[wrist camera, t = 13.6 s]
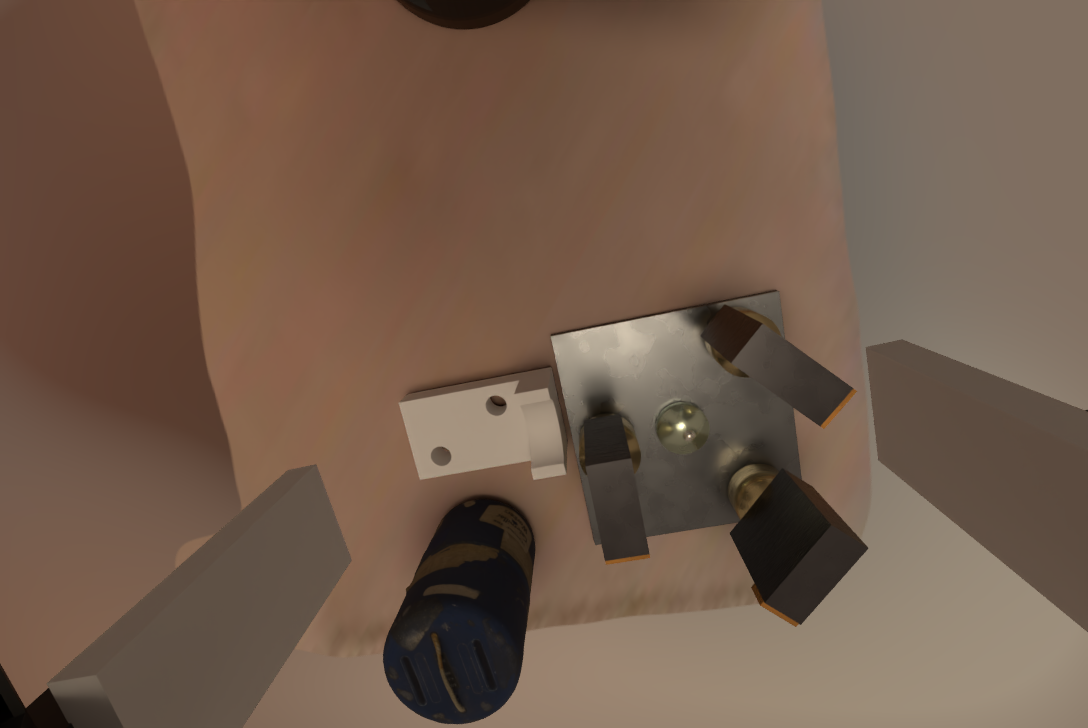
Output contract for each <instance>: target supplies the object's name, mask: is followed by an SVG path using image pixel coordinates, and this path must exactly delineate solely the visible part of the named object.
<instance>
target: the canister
mask: <svg viewBox="0 0 1088 728" xmlns="http://www.w3.org/2000/svg"><path fill="white" fill-rule="evenodd" d="M534 558H535V541H534V536H533V533H532V530H531V528H530V526H529V524H528V523H527V521H526V520H525V519H524V517H523V516H522V515H521V514H520V513H519V512H518V511H516V510H515V509H514V508H512V507H510V506H508V505H507V504H504V503H502V502H498V501H494V500H487V499H479V500H471V501H468V502H465V503H463V504H460V505H458V506H457V507H455V508H453V509H452V510H451V511H450V512H449V513H448V514H447V515H446V516H445V517H444V518H443V519H442V520H441V522H440V524H439V526H438V528H437V530H436V533H435V535H434V537H433V538H432V540H431V542H430V544H429V546H428V548H427V550H426V551H425V553H424V555H423V557H422V559H421V562H420V564H419V566H418V568H417V570H416V573H415V576H414V579H413V581H412V583H411V584H410V586H409V587H407V588H406V597H405V599H404V601H403V603H402V605H401V607H400V610H399V612H398V614H397V616H396V618H395V620H394V622H393V624H392V626H391V628H390V630H389V633H388V635H387V638H386V642H385V646H384V652H383V663H384V669H385V674H386V677H387V680H388V683H389V685H390V687H391V688H392V690H393V691H394V693H395V694H396V696H397V697H398V698H399V699H400V701H401V702H402V703H403V704H405V705H406V706H407V707H408V708H409V709H411V710H412V711H414V712H415V713H417V714H418V715H420V716H422V717H425V718H427V719H430V720H433V721H436V722H439V723H445V724H464V723H471V722H475V721H478V720H481V719H484V718H486V717H488V716H490V715H491V714H493V713H494V712H496V711H497V710H499V709H500V708H501V707H502V706H503V705H504V704H505V703H506V702H507V701H508V699H509V698H510V696H511V695H512V693H513V692H514V690H515V688H516V686H517V683H518V680H519V677H520V673H521V667H522V660H523V651H524V642H525V641H524V640H525V634H526V627H527V620H528V612H529V605H530V592H531V583H532V575H533V566H534Z"/></svg>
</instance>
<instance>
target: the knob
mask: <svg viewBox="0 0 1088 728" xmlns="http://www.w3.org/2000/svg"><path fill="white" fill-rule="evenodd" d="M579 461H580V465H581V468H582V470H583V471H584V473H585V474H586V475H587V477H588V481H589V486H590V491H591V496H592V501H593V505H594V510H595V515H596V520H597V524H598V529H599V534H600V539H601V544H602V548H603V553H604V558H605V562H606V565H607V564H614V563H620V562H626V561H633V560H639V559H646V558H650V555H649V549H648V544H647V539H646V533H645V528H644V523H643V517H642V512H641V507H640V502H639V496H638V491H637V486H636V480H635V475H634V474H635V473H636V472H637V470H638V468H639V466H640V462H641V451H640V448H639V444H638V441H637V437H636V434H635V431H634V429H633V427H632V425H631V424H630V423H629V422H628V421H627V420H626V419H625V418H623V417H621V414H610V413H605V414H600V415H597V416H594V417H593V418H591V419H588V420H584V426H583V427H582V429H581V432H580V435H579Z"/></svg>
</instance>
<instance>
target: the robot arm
mask: <svg viewBox="0 0 1088 728" xmlns="http://www.w3.org/2000/svg"><path fill="white" fill-rule="evenodd" d="M397 1H398V2H399V3H401V4H402V5H403V6H404V7H405V8H406V9H408V10H409V11H410V12H412V13H413V14H415V15H417V16H418V17H420V18H422V19H424V20H426V21H428V22H431V23H433V24H436V25H439V26H443V27H448V28H455V29H473V28H480V27H484V26H488V25H491V24H494V23H497V22H499V21H501V20H503V19H505V18H507V17H509V16H511V15H512V14H514V13H515V12H517V11H518V10H519V9H521V8H522V7H523V6H524V5H525V4H526V3H528V2H529V1H530V0H397ZM866 353H867V362H868V371H869V380H870V389H871V398H872V407H873V416H874V425H875V434H876V443H877V452H878V460H879V461H880V462H881V463H882V464H884V465H885V466H886V467H887V468H889V469H890V470H891V471H892V472H894V473H895V474H896V475H897V476H898V477H900V478H901V479H902V480H904V482H906V483H907V484H908V485H909V486H911V487H912V488H913V489H914V490H915V491H917V492H918V493H919V494H920V495H921V496H923V497H924V498H925V499H927V500H928V501H929V502H930V503H931V504H932V505H934V506H935V507H936V508H937V509H939V510H940V511H941V512H942V513H943V514H945V515H946V516H947V517H948V518H949V519H951V520H952V521H953V522H954V523H956V524H957V525H958V526H959V527H960V528H962V529H963V530H964V531H965V532H966V533H968V534H969V535H970V536H971V537H973V538H974V539H975V540H976V541H977V542H979V543H980V544H981V545H982V546H984V547H985V548H986V549H987V550H988V551H990V552H991V553H992V554H993V555H995V556H996V557H997V558H998V559H999V560H1001V561H1002V562H1003V563H1004V564H1006V565H1007V566H1008V567H1009V568H1010V569H1012V570H1013V571H1014V572H1015V573H1016V574H1018V575H1019V576H1020V577H1021V578H1022V579H1024V580H1025V581H1026V582H1027V583H1029V584H1030V585H1031V586H1032V587H1034V588H1035V589H1036V590H1037V591H1038V592H1040V593H1041V594H1042V595H1043V596H1045V597H1046V598H1047V599H1048V600H1049V601H1050V602H1052V603H1053V604H1054V605H1056V606H1057V607H1058V608H1059V609H1060V610H1061V611H1063V612H1064V613H1065V614H1066V615H1067V616H1069V617H1070V618H1071V619H1072V620H1074V621H1075V622H1076V623H1077V624H1079V625H1080V626H1081V627H1082V628H1083V629H1085V630H1086V631H1087V632H1088V410H1082V409H1079V408H1077V407H1074V406H1071V405H1069V404H1067V403H1064V402H1061V401H1059V400H1056V399H1054V398H1051V397H1048V396H1045V395H1043V394H1041V393H1038V392H1036V391H1033V390H1030V389H1027V388H1025V387H1023V386H1020V385H1018V384H1015V383H1013V382H1010V381H1007V380H1005V379H1002V378H999V377H997V376H994V375H992V374H989V373H987V372H984V371H982V370H979V369H977V368H974V367H971V366H969V365H966V364H964V363H961V362H958V361H956V360H953V359H951V358H948V357H946V356H943V355H940V354H938V353H935V352H933V351H930V350H928V349H925V348H922V347H920V346H917V345H915V344H912V343H910V342H907V341H904V340H897V341H893V342H888V343H883V344H879V345H874V346H870V347H866ZM351 561H352V560H351V557H350V554H349V551H348V549H347V546H346V543H345V541H344V538H343V535H342V533H341V530H340V527H339V524H338V522H337V519H336V516H335V514H334V511H333V508H332V506H331V503H330V500H329V497H328V495H327V492H326V489H325V487H324V484H323V481H322V479H321V476H320V473H319V470H318V468H317V465H316V464H315V465H310V466H306V467H301V468H296V469H292V470H288V471H286V472H285V473H284V474H283V475H282V476H281V477H280V478H279V479H277V480H276V481H275V482H274V483H273V484H272V485H271V486H269V487H268V488H267V489H266V490H265V491H264V492H263V493H262V494H260V495H259V496H258V497H257V498H256V499H255V500H254V501H253V502H251V503H250V504H249V505H248V506H247V507H246V508H245V509H243V510H242V511H241V512H240V513H239V514H238V515H237V516H236V517H235V518H233V519H232V520H231V521H230V522H229V523H228V524H227V525H225V527H223V528H222V529H221V530H220V531H219V532H217V533H216V534H215V535H214V536H213V537H212V538H211V539H210V540H208V541H207V542H206V543H205V544H204V545H203V546H202V547H200V548H199V549H198V550H197V551H196V552H195V553H194V554H193V555H191V556H190V557H189V558H188V559H187V560H186V561H185V562H183V563H182V564H181V565H180V566H179V567H178V568H177V569H176V570H174V571H173V572H172V573H171V574H170V575H169V576H168V577H167V578H166V579H164V580H163V581H162V582H161V583H160V584H159V585H158V586H156V587H155V588H154V589H153V590H152V591H151V592H150V593H148V594H147V595H146V596H145V597H144V598H143V599H142V600H140V601H139V602H138V603H137V604H136V605H135V606H134V607H133V608H131V609H130V610H129V611H128V612H127V613H126V614H125V615H124V616H122V617H121V618H120V619H119V620H118V621H117V622H116V623H115V624H113V625H112V626H111V627H110V628H109V629H108V630H107V631H105V633H103V634H102V635H101V636H100V637H99V638H98V639H97V640H95V641H94V642H93V643H92V644H91V645H90V646H88V647H87V648H86V649H85V650H84V651H83V652H82V653H81V654H80V655H78V656H77V657H76V658H75V659H74V660H73V661H71V662H70V663H69V664H68V665H67V666H66V667H65V668H64V669H62V670H61V671H60V672H59V673H58V674H57V675H56V676H54V677H53V678H52V679H51V680H50V681H49V682H48V683H47V685H48V687H49V688H48V689H47V690H46V691H45V692H43V693H42V694H41V695H40V696H39V697H38V698H37V699H36V700H35V701H34V702H32V703H31V704H30V705H29V706H28V707H27V708H25V706H24V705H23V703H22V701H21V699H20V698H19V696H18V694H17V692H16V691H15V689H14V687H13V685H12V684H11V682H10V680H9V678H8V676H7V675H6V673H5V671H4V669H3V668H2V666H1V664H0V728H242V727H243V726H244V724H245V723H246V721H247V720H248V718H249V717H250V715H251V714H252V712H253V710H254V709H255V708H256V706H257V705H258V703H259V701H260V700H261V698H262V697H263V695H264V694H265V692H266V690H267V689H268V688H269V686H270V684H271V683H272V682H273V680H274V678H275V677H276V675H277V674H278V672H279V671H280V669H281V668H282V666H283V665H284V663H285V662H286V660H287V658H288V657H289V656H290V654H291V652H292V651H293V649H294V648H295V646H296V645H297V643H298V642H299V640H300V639H301V637H302V636H303V634H304V633H305V631H306V630H307V628H308V626H309V625H310V623H311V622H312V620H313V619H314V617H315V616H316V614H317V613H318V611H319V610H320V608H321V607H322V605H323V604H324V602H325V600H326V599H327V597H328V596H329V594H330V593H331V591H332V590H333V588H334V587H335V585H336V584H337V582H338V581H339V579H340V578H341V576H342V574H343V573H344V571H345V570H346V568H347V567H348V565H349V564H350V562H351Z"/></svg>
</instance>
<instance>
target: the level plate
mask: <svg viewBox="0 0 1088 728" xmlns="http://www.w3.org/2000/svg"><path fill="white" fill-rule="evenodd" d="M724 304H726V305H728V306H730V307H744V308H748V309H750V310H752V311H754V312H757V313H759V314H761V315H763V316H765V317H767V318H769V319H770V320H771V321H773V322H774V323H775V325H776V326H777V327H778V329H779V331H780V334H781V337H782V338H784V339H785V336H784V327H783V319H782V311H781V302H780V294H779V291H777V290H773V291H768V292H763V293H758V294H753V295H748V296H743V297H738V298H733V299H728V300H723V301H718V302H713V303H708V304H703V305H698V306H693V307H688V308H683V309H678V310H673V311H668V312H663V313H658V314H653V315H648V316H643V317H638V318H633V319H628V320H623V321H618V322H613V323H607V324H602V325H597V326H592V327H587V328H582V329H577V330H572V331H567V332H562V333H557V334H552V335H551V340H552V344H553V349H554V354H555V359H556V363H557V368H558V373H559V377H560V382H561V387H562V392H563V396H564V401H565V406H566V410H567V415H568V420H569V424H570V429H571V434H572V439H573V443H574V448H575V453H576V457H577V462H578V467H579V472H580V476H581V481H582V486H583V490H584V495H585V500H586V505H587V509H588V514H589V519H590V523H591V528H592V533H593V538H594V542H595V545H599V544H601V539H600V534H599V529H598V524H597V520H596V515H595V510H594V505H593V501H592V496H591V491H590V486H589V481H588V477H587V475H586V474H585V473H584V471H583V470H582V468H581V465H580V461H579V435H580V432H581V429H582V427H583V426H584V420H588V419H591V418H593V417H594V416H597V415H600V414H605V413H610V414H621V417H623V418H625V419H626V420H627V421H628V422H629V423H630V424H631V425H632V427H633V429H634V431H635V434H636V437H637V441H638V444H639V448H640V451H641V462H640V466H639V468H638V470H637V472H636V473H635V474H634V475H635V480H636V486H637V491H638V496H639V502H640V507H641V512H642V517H643V523H644V528H645V533H646V537H649V536H655V535H661V534H668V533H674V532H680V531H686V530H693V529H699V528H705V527H711V526H718V525H724V524H730V523H737V522H739V521H740V518H739V516H738V515H737V513H736V511H735V509H734V508H733V506H732V504H731V502H730V500H729V497H728V485H729V482H730V480H731V478H732V477H733V475H734V474H735V473H736V472H737V471H738V470H740V469H741V468H743V467H745V466H748V465H751V464H766V465H769V466H771V467H773V468H775V469H776V470H778V471H780V470H781V469H782V468H784V469H785V470H787V471H788V472H790V473H791V474H793V475H795V476H796V477H798V478H799V479H801V470H800V462H799V453H798V445H797V437H796V428H795V420H794V411H793V407H792V406H791V405H789V404H788V403H786V402H785V401H784V400H782V399H781V398H779V397H778V396H776V395H775V394H774V393H772V392H771V391H769V390H768V389H767V388H765V387H764V386H762V385H761V384H759V383H758V382H757V381H755V380H754V379H752V378H751V377H748V378H745V377H738V376H735V375H732V374H730V373H729V372H727V371H726V370H725V369H724V368H723V367H722V366H721V365H720V364H719V363H718V362H716V361H715V360H714V359H713V358H712V357H711V355H710V354H709V352H708V351H707V348H706V345H705V340H704V339H703V338H702V337H700V335H701V334H702V332H703V331H704V330H705V328H706V327H707V326H708V324H709V322H710V321H711V320H712V318H713V317H714V316H715V315H716V314H717V313H718V312H719V310H720V309H721V308H722V307H723V305H724ZM801 480H802V479H801Z"/></svg>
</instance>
